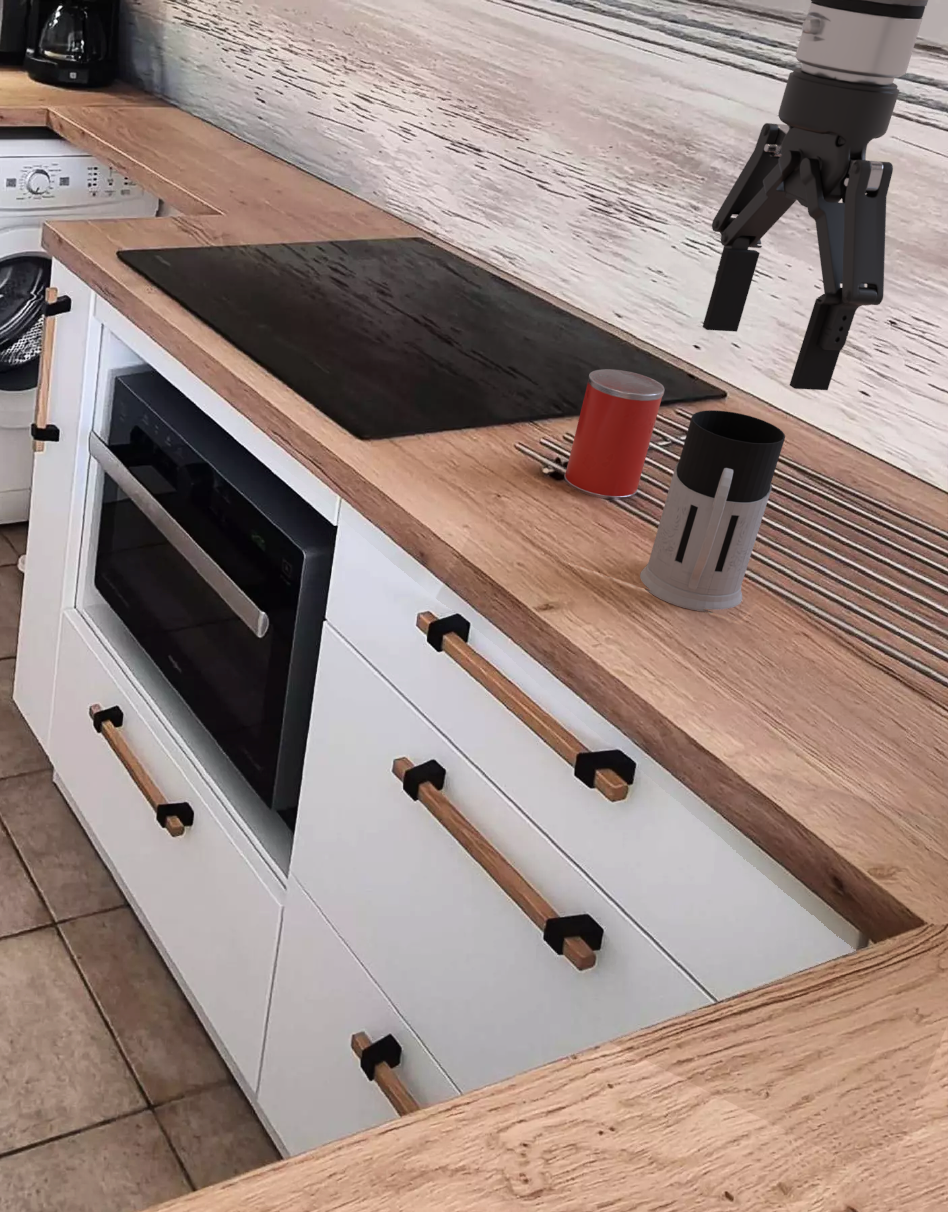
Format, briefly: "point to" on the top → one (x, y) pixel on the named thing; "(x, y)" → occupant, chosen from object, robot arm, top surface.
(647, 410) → the sauce can
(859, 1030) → the top surface
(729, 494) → the glass holder
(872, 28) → the robot arm
